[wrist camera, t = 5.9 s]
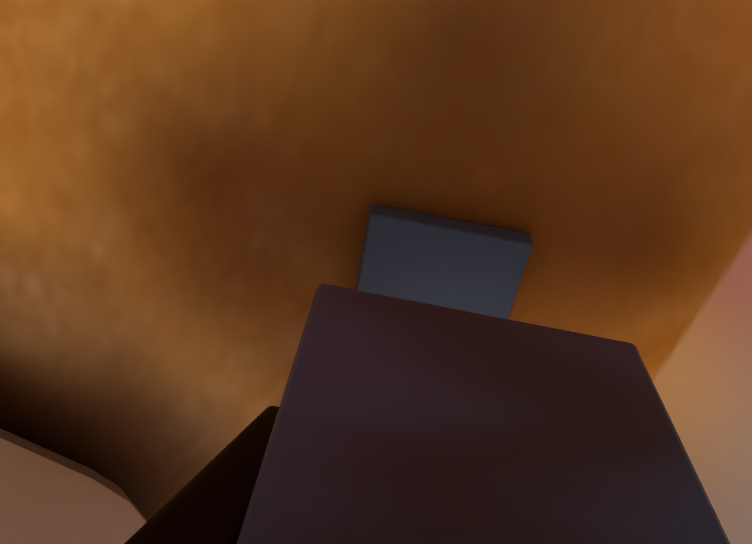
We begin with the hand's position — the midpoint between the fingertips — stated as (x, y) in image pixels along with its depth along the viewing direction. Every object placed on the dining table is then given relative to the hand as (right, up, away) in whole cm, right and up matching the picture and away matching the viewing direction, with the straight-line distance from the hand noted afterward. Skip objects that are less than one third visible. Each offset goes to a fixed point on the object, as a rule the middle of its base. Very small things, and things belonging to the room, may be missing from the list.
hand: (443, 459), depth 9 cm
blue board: (+1, 0, +13) cm, 13 cm away
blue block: (0, 0, +1) cm, 1 cm away
